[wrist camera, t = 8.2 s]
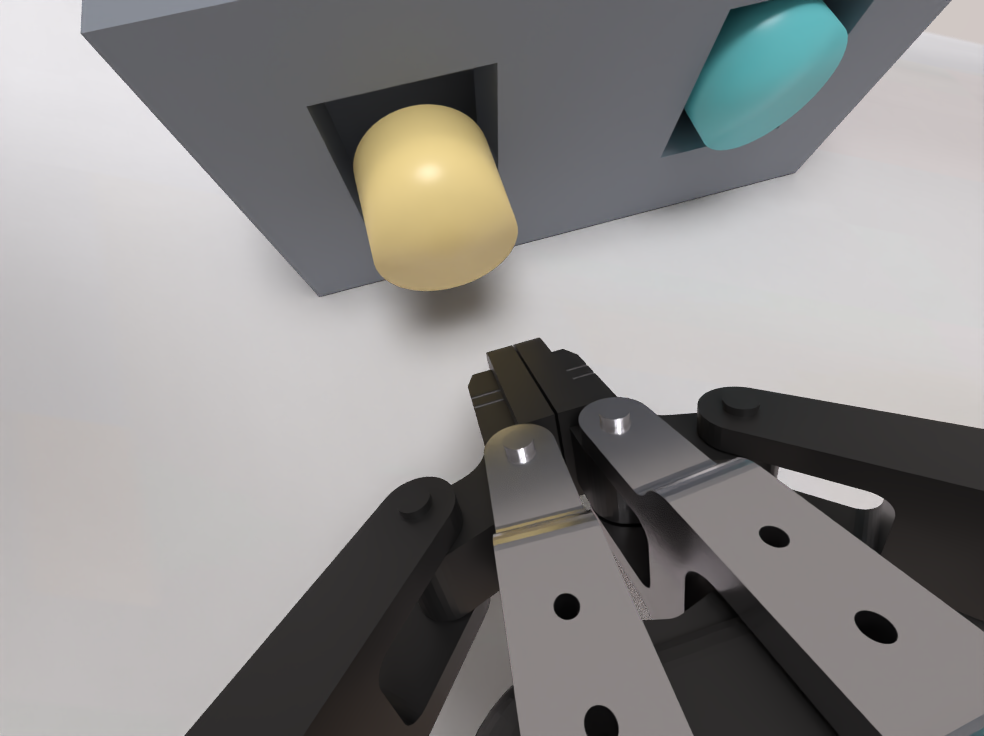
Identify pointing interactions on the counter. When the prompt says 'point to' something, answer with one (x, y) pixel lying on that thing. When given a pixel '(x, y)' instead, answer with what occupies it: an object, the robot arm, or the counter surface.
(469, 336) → the counter surface
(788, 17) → the teal button
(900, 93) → the counter surface
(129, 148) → the counter surface
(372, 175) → the mustard button
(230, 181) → the console
